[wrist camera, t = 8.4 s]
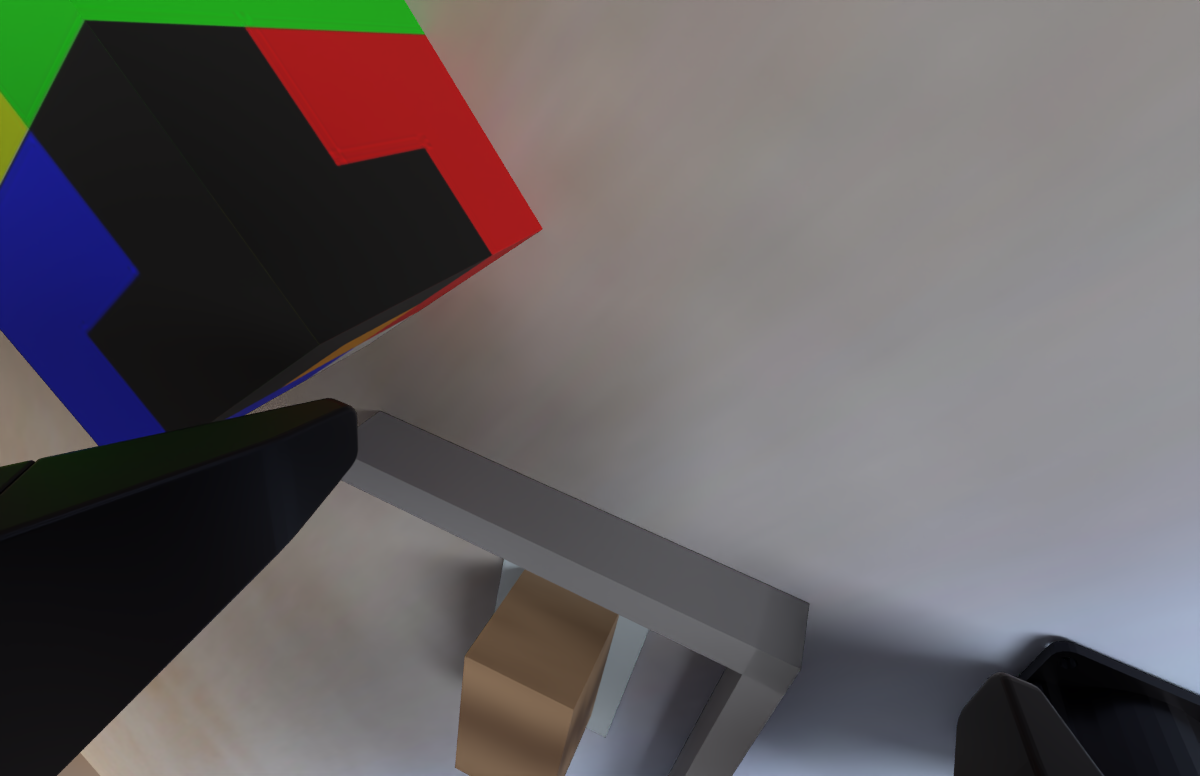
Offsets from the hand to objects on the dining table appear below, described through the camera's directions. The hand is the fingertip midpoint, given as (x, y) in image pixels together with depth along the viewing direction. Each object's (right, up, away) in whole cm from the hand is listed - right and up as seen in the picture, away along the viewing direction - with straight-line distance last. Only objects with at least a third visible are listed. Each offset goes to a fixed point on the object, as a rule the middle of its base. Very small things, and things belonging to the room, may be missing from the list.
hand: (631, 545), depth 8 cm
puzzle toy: (-9, +10, +14) cm, 19 cm away
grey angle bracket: (-3, -9, +21) cm, 23 cm away
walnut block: (-2, -10, +21) cm, 23 cm away
